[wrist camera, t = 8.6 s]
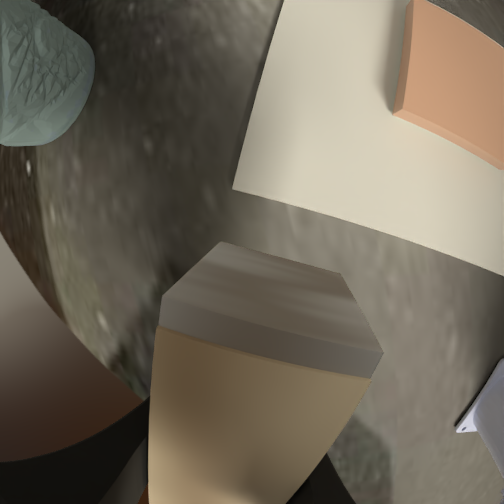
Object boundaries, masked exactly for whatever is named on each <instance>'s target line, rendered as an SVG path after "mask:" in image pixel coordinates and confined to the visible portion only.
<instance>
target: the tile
mask: <svg viewBox="0 0 504 504" xmlns="http://www.w3.org/2000/svg"><path fill="white" fill-rule="evenodd" d="M392 115H393V116H396V117H398V118H401V119H403V120H405V121H408V122H410V123H412V124H415V125H417V126H419V127H421V128H423V129H426V130H428V131H430V132H432V133H434V134H436V135H438V136H440V137H442V138H444V139H446V140H448V141H450V142H452V143H454V144H456V145H458V146H460V147H461V148H463V149H465V150H467V151H469V152H470V153H472V154H474V155H476V156H477V157H479V158H481V159H483V160H484V161H486V162H488V163H489V164H491V165H492V166H494V167H496V168H497V169H499V170H504V48H502V47H501V46H500V45H498V44H497V43H495V42H494V41H493V40H491V39H490V38H488V37H487V36H486V35H484V34H483V33H481V32H480V31H478V30H477V29H475V28H473V27H472V26H470V25H469V24H467V23H465V22H464V21H462V20H460V19H459V18H457V17H455V16H454V15H452V14H450V13H448V12H446V11H445V10H443V9H441V8H439V7H437V6H435V5H433V4H431V3H429V2H427V1H425V0H410V2H409V3H408V4H407V6H406V12H405V25H404V36H403V46H402V54H401V62H400V70H399V77H398V83H397V90H396V96H395V102H394V107H393V113H392Z"/></svg>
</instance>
